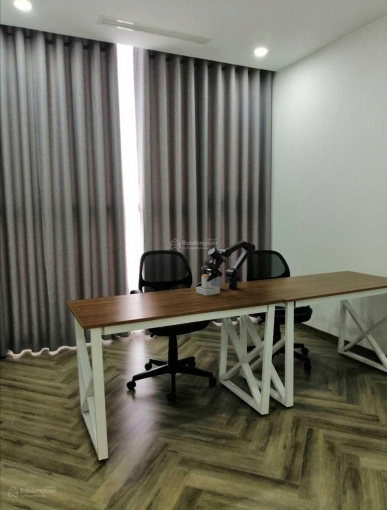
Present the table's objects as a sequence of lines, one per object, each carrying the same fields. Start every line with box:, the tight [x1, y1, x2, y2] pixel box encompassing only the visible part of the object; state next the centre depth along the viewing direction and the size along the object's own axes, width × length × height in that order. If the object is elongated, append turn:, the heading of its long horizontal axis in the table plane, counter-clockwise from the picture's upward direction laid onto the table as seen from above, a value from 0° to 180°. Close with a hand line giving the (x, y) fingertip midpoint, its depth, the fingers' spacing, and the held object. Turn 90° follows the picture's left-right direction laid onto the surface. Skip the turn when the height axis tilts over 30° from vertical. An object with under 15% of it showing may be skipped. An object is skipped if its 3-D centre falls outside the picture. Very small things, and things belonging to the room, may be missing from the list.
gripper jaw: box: [201, 274, 211, 289], centre depth 257 cm, size 5×5×12 cm
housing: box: [195, 285, 221, 297], centre depth 258 cm, size 12×12×4 cm
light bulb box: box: [209, 272, 222, 290], centre depth 273 cm, size 11×7×11 cm, turn 62°
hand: (204, 280), depth 256 cm, fingers open, 6 cm apart
